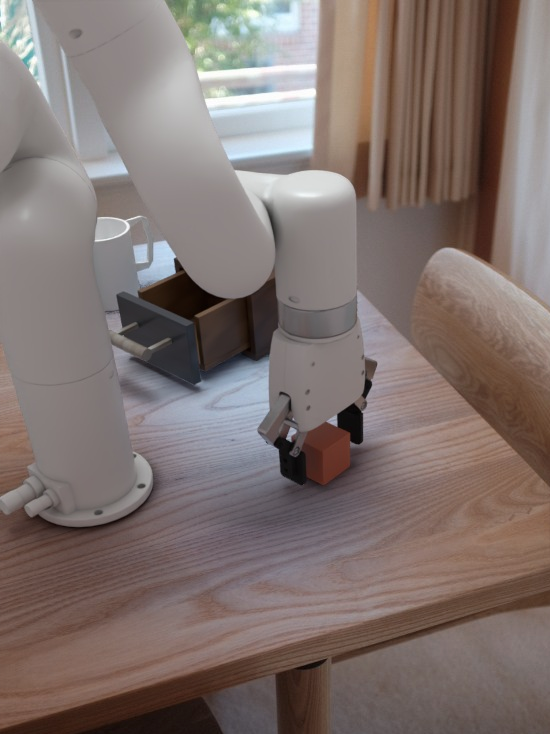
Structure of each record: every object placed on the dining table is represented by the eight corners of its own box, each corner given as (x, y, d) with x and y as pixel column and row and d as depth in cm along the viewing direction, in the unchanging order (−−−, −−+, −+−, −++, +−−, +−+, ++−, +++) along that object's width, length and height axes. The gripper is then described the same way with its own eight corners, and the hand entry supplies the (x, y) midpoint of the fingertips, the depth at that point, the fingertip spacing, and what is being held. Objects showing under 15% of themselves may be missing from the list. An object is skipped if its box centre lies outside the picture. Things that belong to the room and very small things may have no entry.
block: (323, 486, 95) (322, 452, 92) (292, 469, 97) (290, 436, 94) (350, 466, 97) (350, 432, 94) (319, 451, 99) (318, 417, 97)
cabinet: (256, 361, 114) (250, 289, 108) (182, 327, 121) (173, 258, 115) (332, 317, 123) (331, 248, 117) (260, 288, 130) (255, 222, 124)
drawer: (164, 402, 106) (154, 342, 100) (96, 366, 112) (83, 308, 107) (272, 341, 116) (268, 284, 111) (205, 312, 123) (198, 257, 117)
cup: (174, 290, 130) (165, 221, 123) (101, 317, 124) (87, 247, 117) (143, 271, 135) (133, 205, 128) (71, 296, 128) (56, 228, 122)
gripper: (346, 268, 92) (348, 411, 103) (222, 333, 82) (239, 484, 93) (405, 289, 88) (400, 435, 99) (283, 360, 78) (293, 514, 89)
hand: (322, 458), depth 96 cm, fingers open, 8 cm apart
